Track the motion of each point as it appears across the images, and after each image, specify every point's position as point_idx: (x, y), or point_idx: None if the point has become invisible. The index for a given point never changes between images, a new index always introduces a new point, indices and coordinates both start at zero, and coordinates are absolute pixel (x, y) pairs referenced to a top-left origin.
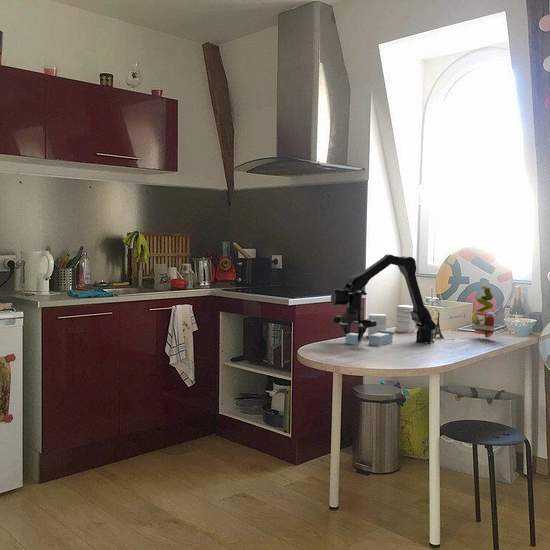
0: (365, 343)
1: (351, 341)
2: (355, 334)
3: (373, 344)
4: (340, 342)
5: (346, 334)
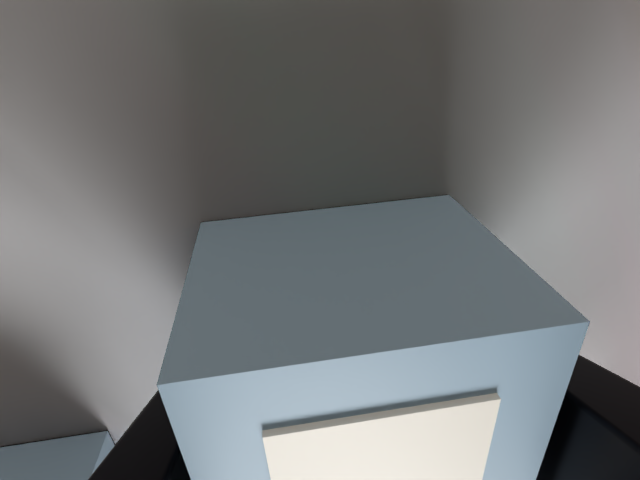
0: None
1: (318, 238)
2: (299, 477)
3: (4, 454)
4: (568, 201)
5: (561, 319)
